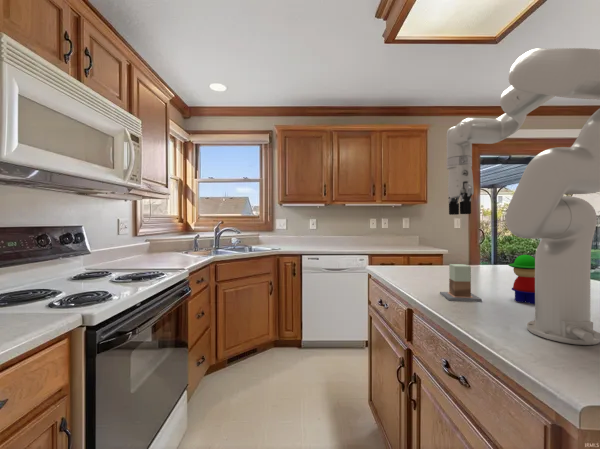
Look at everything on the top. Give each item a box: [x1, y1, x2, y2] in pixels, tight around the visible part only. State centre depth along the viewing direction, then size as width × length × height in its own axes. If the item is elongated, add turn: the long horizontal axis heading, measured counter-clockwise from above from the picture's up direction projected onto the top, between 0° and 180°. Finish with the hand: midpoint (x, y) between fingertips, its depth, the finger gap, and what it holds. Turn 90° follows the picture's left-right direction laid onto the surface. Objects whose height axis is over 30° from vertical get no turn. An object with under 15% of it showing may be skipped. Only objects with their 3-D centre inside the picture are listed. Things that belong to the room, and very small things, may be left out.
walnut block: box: [448, 277, 472, 297], centre depth 101 cm, size 5×5×5 cm
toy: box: [508, 254, 535, 305], centre depth 96 cm, size 9×9×15 cm
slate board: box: [439, 291, 483, 302], centre depth 101 cm, size 9×10×1 cm
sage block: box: [448, 263, 472, 282], centre depth 101 cm, size 5×5×5 cm
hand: (459, 214), depth 101 cm, fingers open, 9 cm apart
